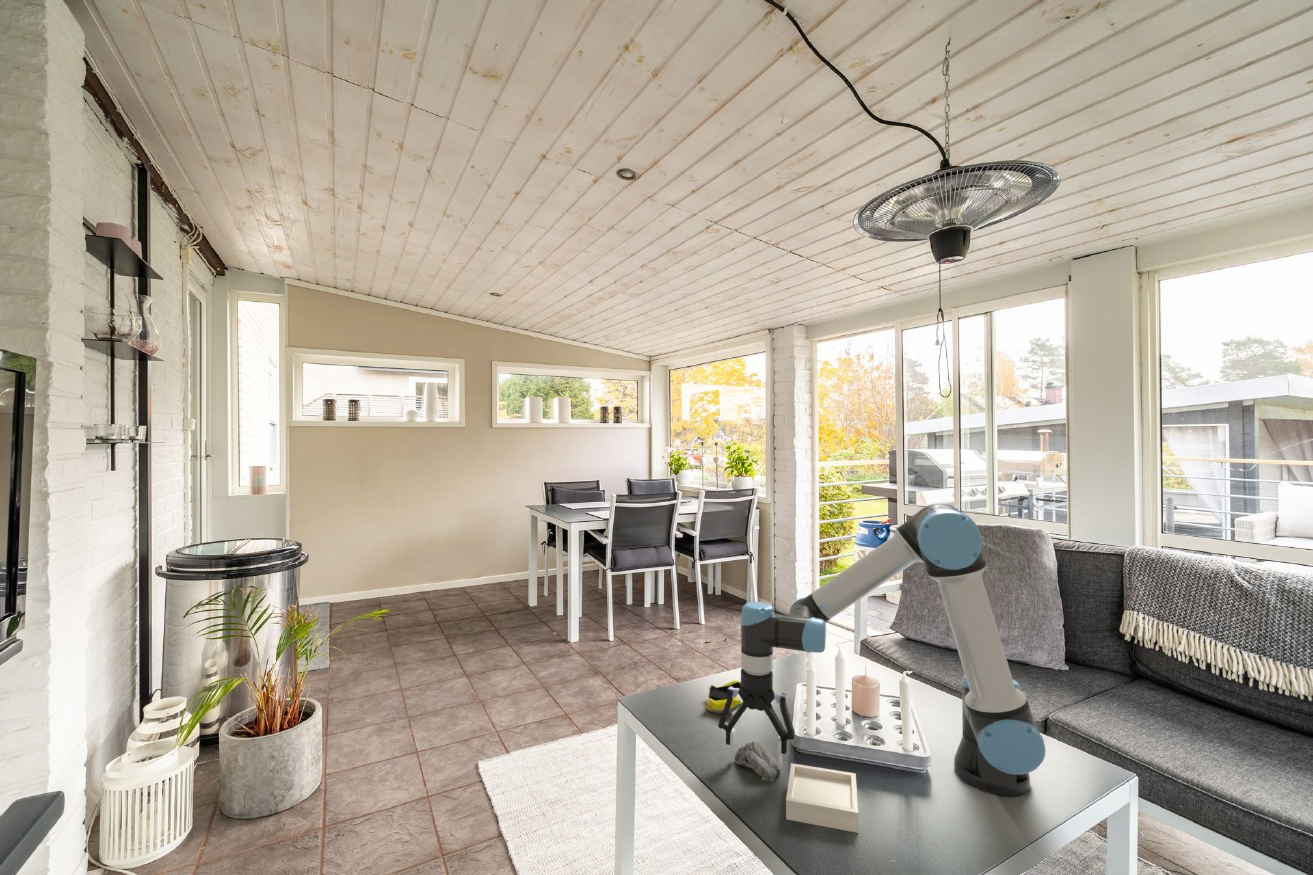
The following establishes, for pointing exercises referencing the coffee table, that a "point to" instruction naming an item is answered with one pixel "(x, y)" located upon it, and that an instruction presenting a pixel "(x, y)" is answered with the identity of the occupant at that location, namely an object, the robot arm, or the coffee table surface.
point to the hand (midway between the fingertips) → (755, 761)
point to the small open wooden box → (822, 797)
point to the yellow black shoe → (722, 698)
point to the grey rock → (758, 761)
